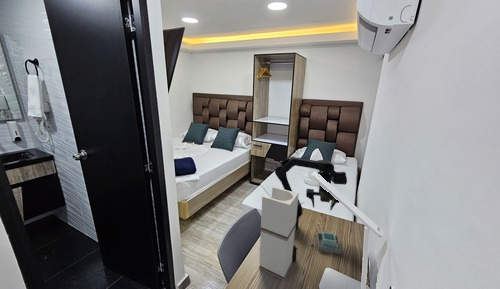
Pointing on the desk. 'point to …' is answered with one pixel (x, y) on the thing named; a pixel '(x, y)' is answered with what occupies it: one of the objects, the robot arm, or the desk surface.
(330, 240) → the teal crate
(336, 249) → the grey square tray
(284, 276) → the white pencil holder
